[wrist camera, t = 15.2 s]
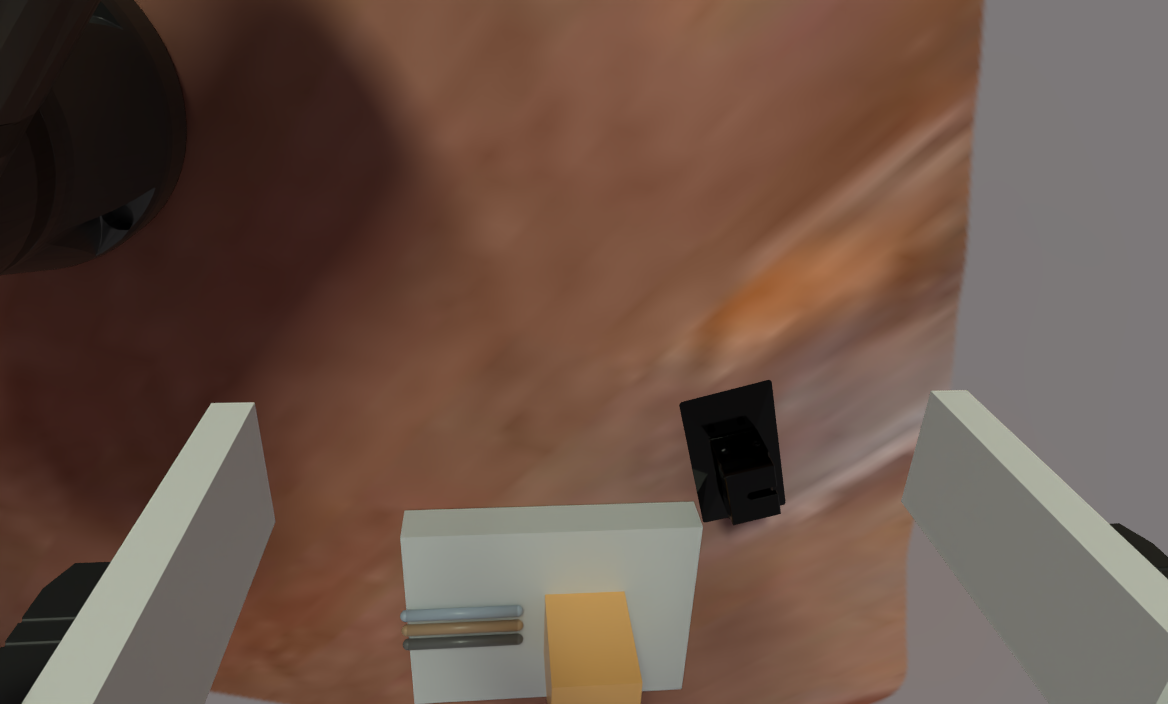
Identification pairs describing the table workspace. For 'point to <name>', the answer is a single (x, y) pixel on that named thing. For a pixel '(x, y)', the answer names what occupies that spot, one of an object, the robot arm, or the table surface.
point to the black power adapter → (735, 453)
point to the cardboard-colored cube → (590, 650)
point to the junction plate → (540, 590)
